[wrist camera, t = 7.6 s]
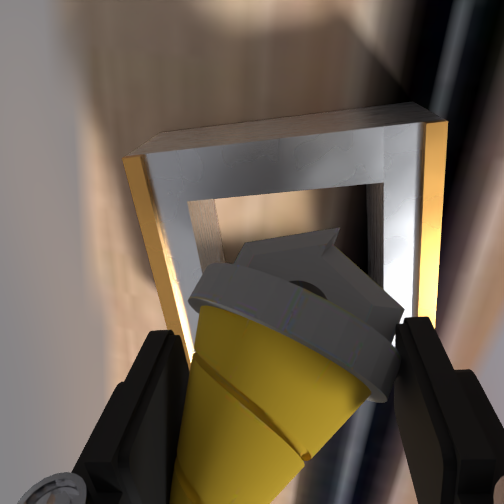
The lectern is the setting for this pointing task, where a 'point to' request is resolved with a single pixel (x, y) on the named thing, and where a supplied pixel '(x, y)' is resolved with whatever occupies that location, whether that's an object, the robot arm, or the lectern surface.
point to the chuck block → (295, 179)
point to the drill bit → (278, 365)
